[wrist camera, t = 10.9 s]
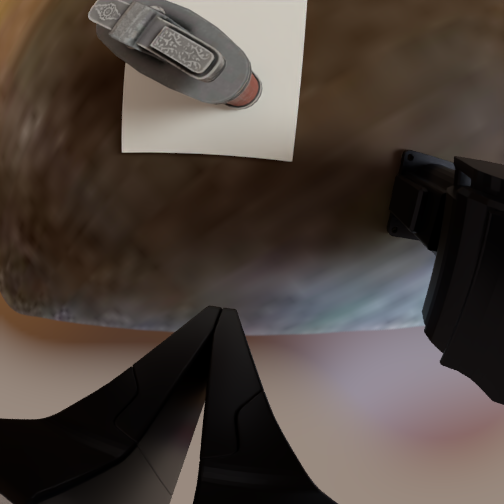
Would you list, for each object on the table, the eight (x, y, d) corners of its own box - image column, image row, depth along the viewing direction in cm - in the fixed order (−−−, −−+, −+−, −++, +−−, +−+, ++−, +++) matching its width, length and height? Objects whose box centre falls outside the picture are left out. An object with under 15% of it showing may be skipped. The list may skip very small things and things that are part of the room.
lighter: (148, 59, 15) (48, 32, 6) (178, 21, 14) (96, -36, 5) (240, 121, 17) (195, 125, 8) (274, 81, 15) (266, 40, 7)
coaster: (306, 0, 13) (307, -6, 12) (291, 159, 19) (292, 161, 18) (140, 5, 14) (134, 1, 13) (128, 150, 19) (121, 152, 18)
